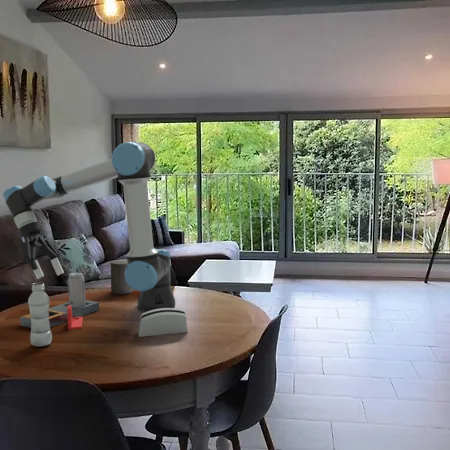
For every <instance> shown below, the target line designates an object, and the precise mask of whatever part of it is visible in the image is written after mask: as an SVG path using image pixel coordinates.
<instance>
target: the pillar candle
mask: <svg viewBox="0 0 450 450" xmlns="http://www.w3.org/2000/svg"><path fill="white" fill-rule="evenodd" d="M127 266H128V263H127V259H114V260H111V261H110V287H111V288H110V291H111V294H114V295H127V293H128V294H130V293H133V292H134V289H133V288H131V287H130V286H129V285H128V284H127V282H126V280H125V270H126V267H127ZM132 291H133V292H132Z"/></svg>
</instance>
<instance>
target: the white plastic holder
mask: <svg viewBox="0 0 450 450" xmlns="http://www.w3.org/2000/svg"><path fill="white" fill-rule="evenodd" d="M187 321H188V320H187V314H186V312H185V310H184V309H180V308H175V307H173V308H161V309H155V310H151V311H145V312H143V313H141V314H140V318H139V322H138V324H139V326H138V329H137V333H138V336H139V337H151V336H162V335H172V334H181V333H180V332H182V333H188V332H187V331H188V330H189V329H188V322H187Z"/></svg>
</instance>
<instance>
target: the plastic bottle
mask: <svg viewBox="0 0 450 450" xmlns="http://www.w3.org/2000/svg"><path fill="white" fill-rule="evenodd" d="M45 290H46V289H45V283H44V282H34V283H32V284H31V291H32V292H31V294H30V295H29V297H28V300H27V302H28V303H27V304H28V308H29V314H31V328H30V329H31V330H30V339H29V340H30V344H31V345H32V346H33V347H37V348H38V347H39V348H40V347H46V346H49V345H50V344H51V343H52V340H53V334H52V329H51V327H50V324H49V308H50V304H51V303H50V301H51V300H50V296H49V295H48V294H47V292H45Z"/></svg>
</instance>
